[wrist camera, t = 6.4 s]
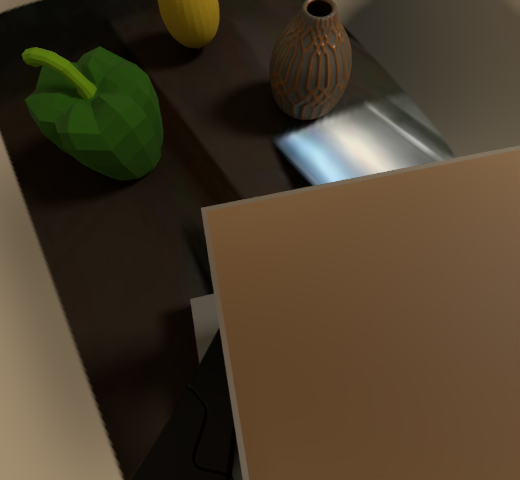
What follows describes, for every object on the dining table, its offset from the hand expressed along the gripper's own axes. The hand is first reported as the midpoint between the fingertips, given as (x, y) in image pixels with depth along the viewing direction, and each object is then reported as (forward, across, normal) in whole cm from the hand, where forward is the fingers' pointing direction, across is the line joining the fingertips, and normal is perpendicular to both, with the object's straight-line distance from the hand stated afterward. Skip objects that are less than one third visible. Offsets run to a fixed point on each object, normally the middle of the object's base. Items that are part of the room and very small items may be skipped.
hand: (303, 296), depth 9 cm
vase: (+24, -7, -4) cm, 25 cm away
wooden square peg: (+4, 0, +6) cm, 7 cm away
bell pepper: (+22, +10, -3) cm, 24 cm away
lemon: (+30, +2, -12) cm, 33 cm away
